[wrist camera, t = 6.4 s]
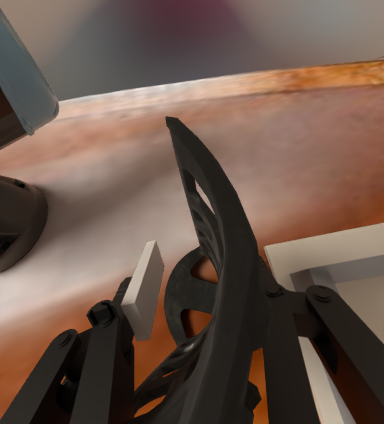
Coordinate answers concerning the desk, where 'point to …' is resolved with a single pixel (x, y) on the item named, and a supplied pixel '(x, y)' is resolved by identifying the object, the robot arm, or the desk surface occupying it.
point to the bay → (343, 285)
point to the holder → (210, 305)
